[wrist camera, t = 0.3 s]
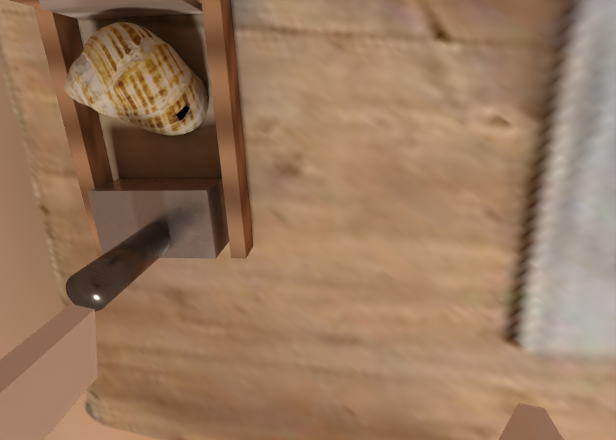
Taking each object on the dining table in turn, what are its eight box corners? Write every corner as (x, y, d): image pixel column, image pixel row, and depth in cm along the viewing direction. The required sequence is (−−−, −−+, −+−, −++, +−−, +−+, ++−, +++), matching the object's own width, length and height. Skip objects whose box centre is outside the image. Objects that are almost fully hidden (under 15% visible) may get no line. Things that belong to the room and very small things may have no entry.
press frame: (48, -35, 33) (-14, -61, 27) (225, -49, 31) (199, -79, 25) (114, 244, 42) (78, 268, 37) (252, 246, 40) (238, 271, 35)
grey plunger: (117, 179, 39) (-11, 228, 25) (224, 178, 38) (152, 229, 24) (130, 237, 41) (20, 313, 27) (231, 238, 40) (169, 318, 26)
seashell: (228, 127, 35) (139, 153, 28) (168, 132, 41) (79, 155, 33) (201, 12, 32) (89, 6, 24) (139, 34, 37) (31, 34, 29)
